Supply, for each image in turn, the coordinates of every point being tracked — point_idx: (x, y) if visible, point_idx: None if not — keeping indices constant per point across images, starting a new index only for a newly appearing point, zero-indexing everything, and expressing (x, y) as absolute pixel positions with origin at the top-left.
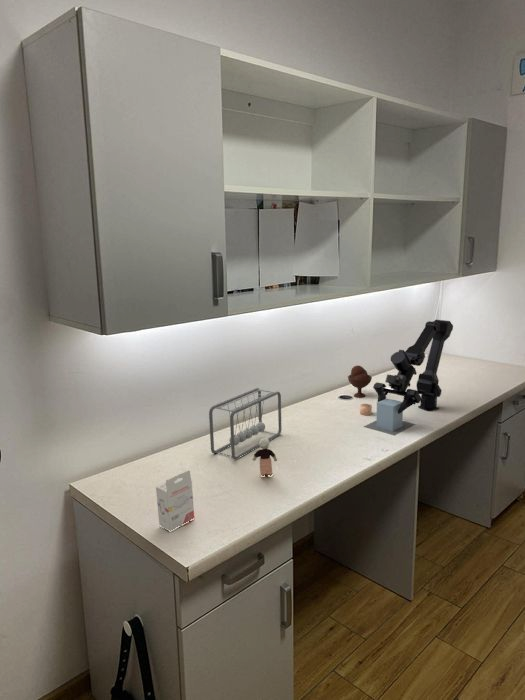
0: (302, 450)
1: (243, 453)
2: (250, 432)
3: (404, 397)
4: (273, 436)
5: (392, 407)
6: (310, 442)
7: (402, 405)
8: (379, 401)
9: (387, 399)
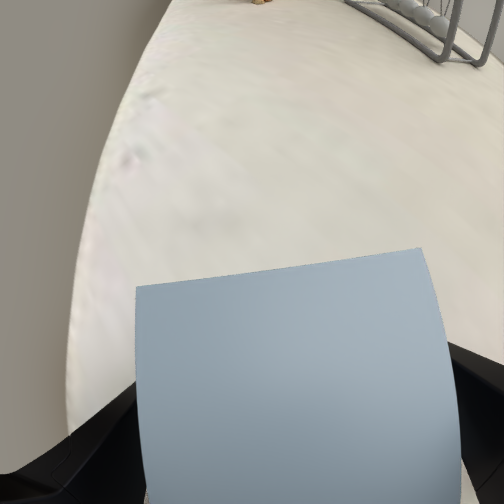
0: (318, 39)
1: (356, 4)
2: (401, 1)
3: (9, 494)
4: (419, 44)
5: (152, 290)
6: (356, 63)
7: (82, 430)
8: (473, 371)
9: (429, 493)
